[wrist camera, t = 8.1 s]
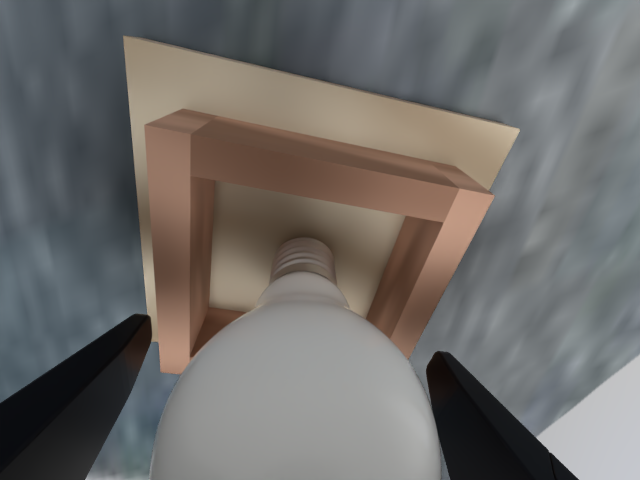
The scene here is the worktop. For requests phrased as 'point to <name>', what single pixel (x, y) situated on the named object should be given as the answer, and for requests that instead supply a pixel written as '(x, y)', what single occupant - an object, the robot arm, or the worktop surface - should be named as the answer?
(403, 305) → the holder
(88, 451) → the robot arm
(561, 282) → the worktop surface
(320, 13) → the worktop surface
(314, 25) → the worktop surface
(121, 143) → the worktop surface
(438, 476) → the lightbulb
